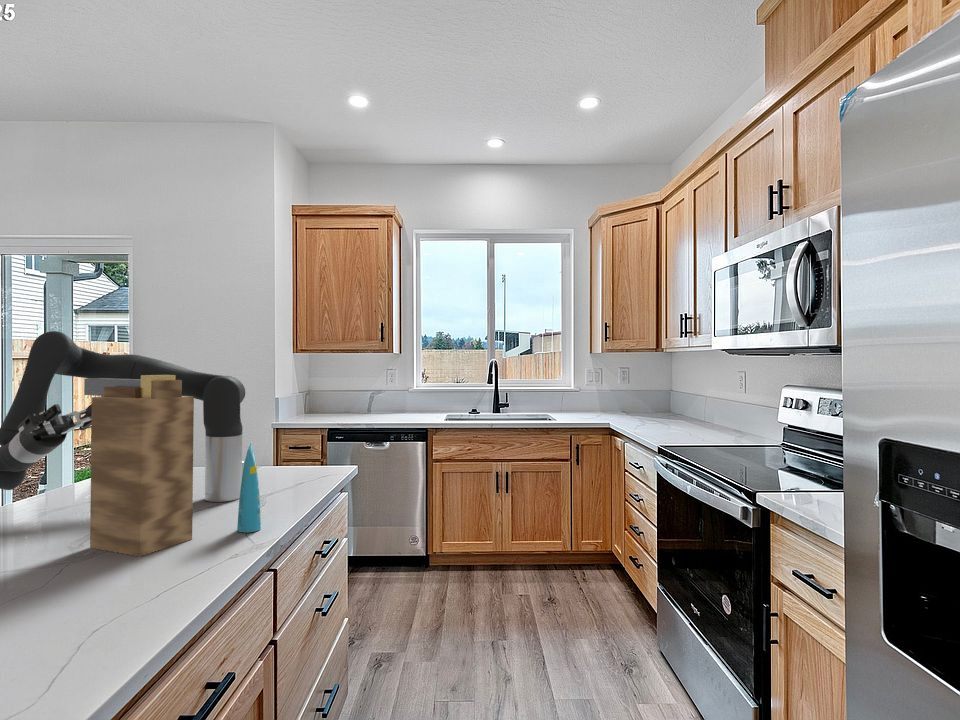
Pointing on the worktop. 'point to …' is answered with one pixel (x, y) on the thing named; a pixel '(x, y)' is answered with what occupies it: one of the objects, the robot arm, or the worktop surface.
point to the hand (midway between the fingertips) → (79, 406)
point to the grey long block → (124, 384)
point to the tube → (249, 496)
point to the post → (141, 469)
